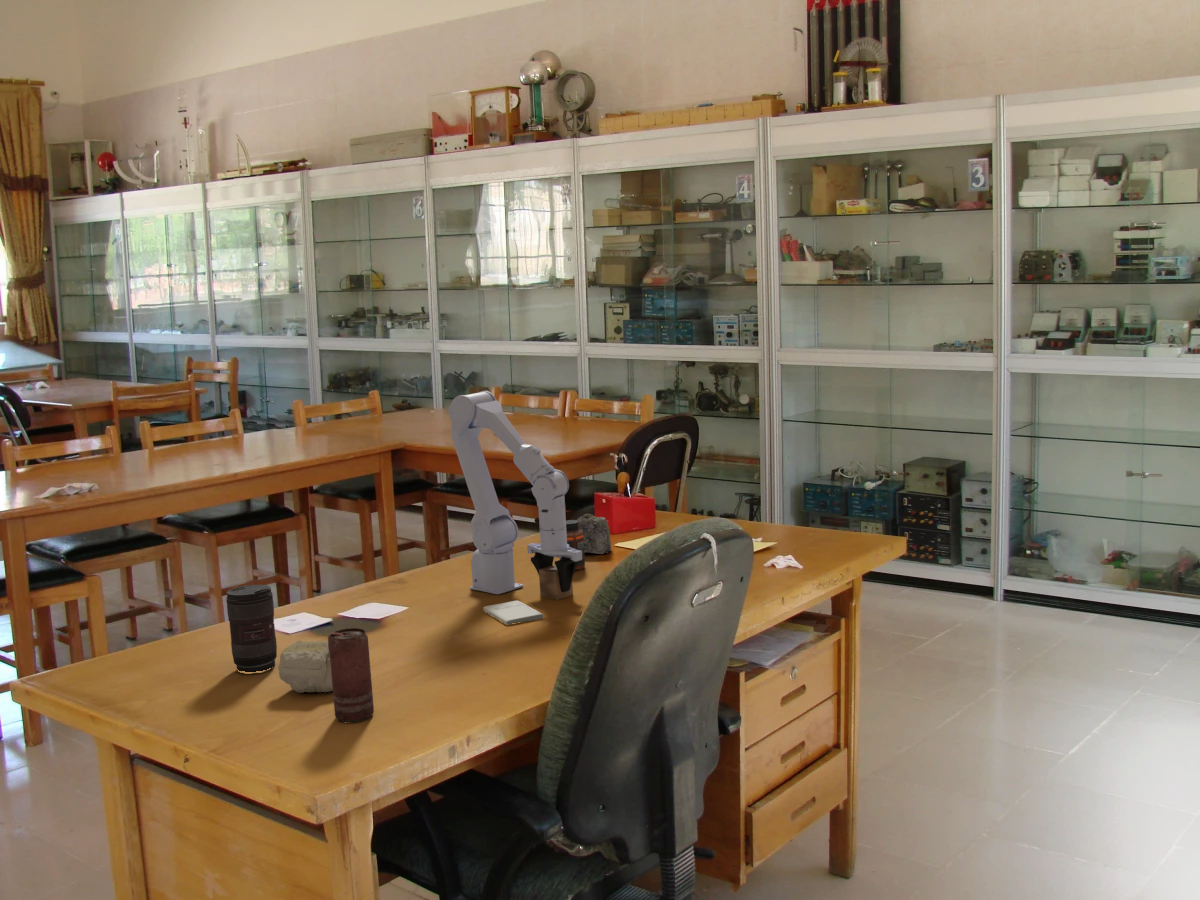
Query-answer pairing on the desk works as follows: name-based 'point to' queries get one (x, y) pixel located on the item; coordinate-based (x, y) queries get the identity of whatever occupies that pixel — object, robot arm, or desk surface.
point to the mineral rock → (595, 534)
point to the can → (351, 675)
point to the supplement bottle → (575, 540)
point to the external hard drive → (513, 612)
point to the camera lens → (252, 627)
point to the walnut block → (552, 584)
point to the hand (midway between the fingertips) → (556, 589)
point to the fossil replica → (306, 666)
